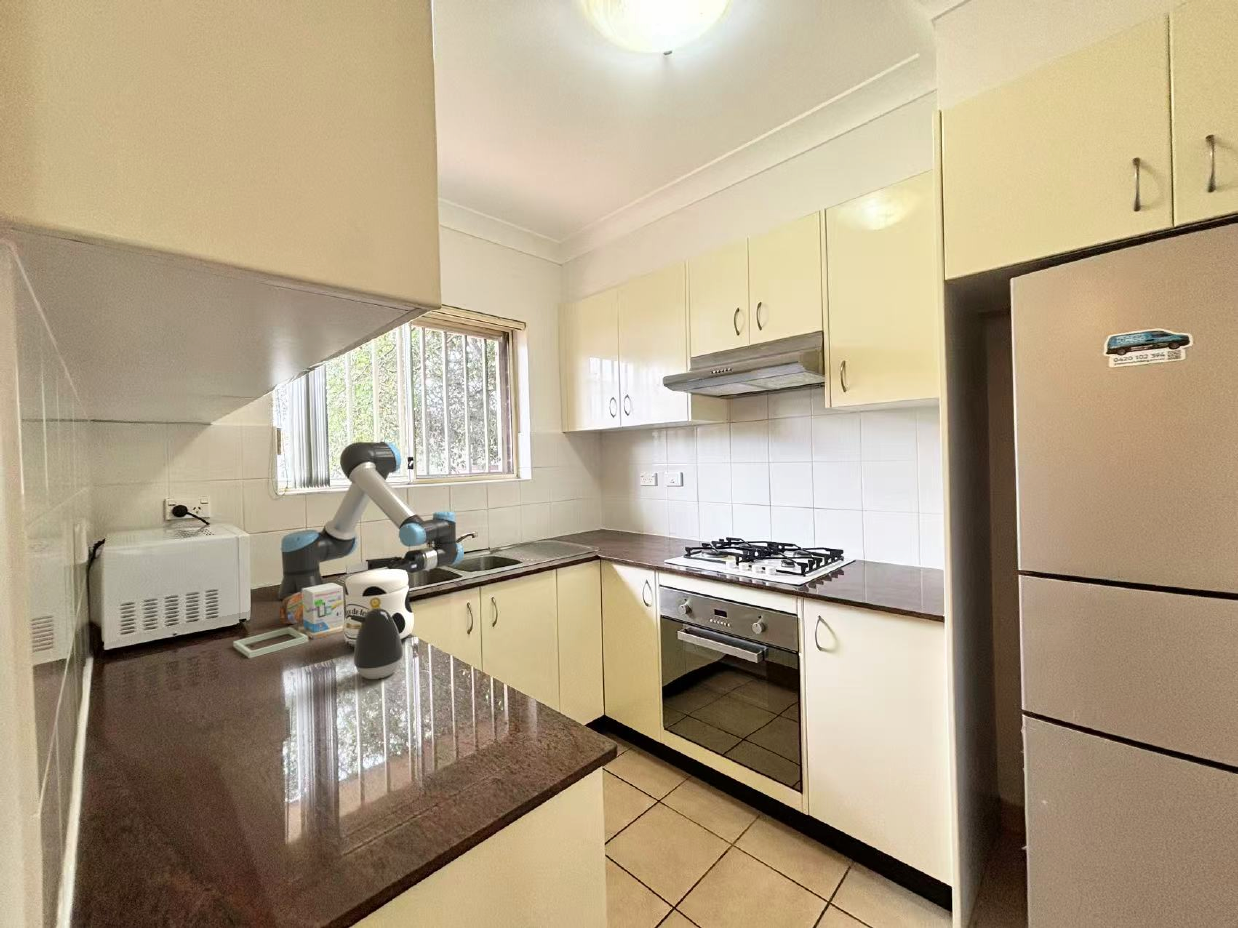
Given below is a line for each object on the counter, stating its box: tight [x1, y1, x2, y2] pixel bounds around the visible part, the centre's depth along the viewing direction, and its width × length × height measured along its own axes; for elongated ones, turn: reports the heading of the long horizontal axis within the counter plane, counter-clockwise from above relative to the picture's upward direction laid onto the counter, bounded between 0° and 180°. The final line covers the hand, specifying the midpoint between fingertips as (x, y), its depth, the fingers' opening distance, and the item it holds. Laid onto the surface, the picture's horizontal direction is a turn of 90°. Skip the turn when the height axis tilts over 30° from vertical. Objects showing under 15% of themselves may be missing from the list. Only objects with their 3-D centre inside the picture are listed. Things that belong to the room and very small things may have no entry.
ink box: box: [302, 582, 345, 633], centre depth 150 cm, size 8×8×12 cm
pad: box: [297, 625, 343, 640], centre depth 150 cm, size 12×10×1 cm
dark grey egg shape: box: [351, 608, 404, 680], centre depth 117 cm, size 10×10×15 cm
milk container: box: [342, 569, 415, 649], centre depth 138 cm, size 17×17×18 cm
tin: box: [279, 591, 303, 625], centre depth 161 cm, size 15×3×8 cm, turn 179°
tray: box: [233, 626, 309, 659], centre depth 140 cm, size 14×14×2 cm
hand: (355, 572), depth 159 cm, fingers open, 13 cm apart
